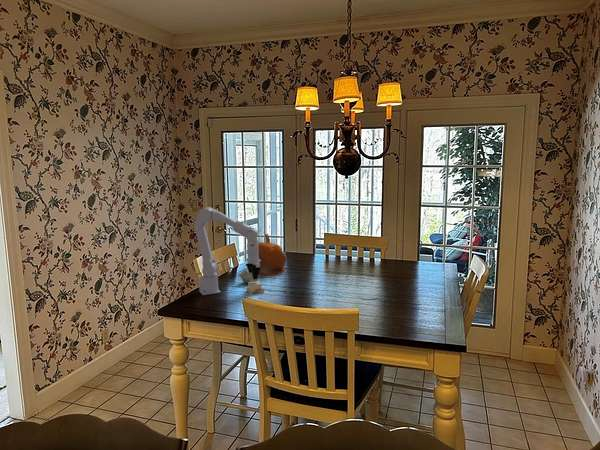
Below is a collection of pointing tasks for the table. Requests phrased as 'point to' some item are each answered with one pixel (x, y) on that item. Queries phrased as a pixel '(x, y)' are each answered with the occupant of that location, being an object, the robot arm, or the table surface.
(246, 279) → the game die
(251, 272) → the green capsule
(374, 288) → the table surface
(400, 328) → the table surface
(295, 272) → the table surface
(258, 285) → the cream block
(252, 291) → the birch base block
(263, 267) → the pumpkin
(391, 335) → the table surface
